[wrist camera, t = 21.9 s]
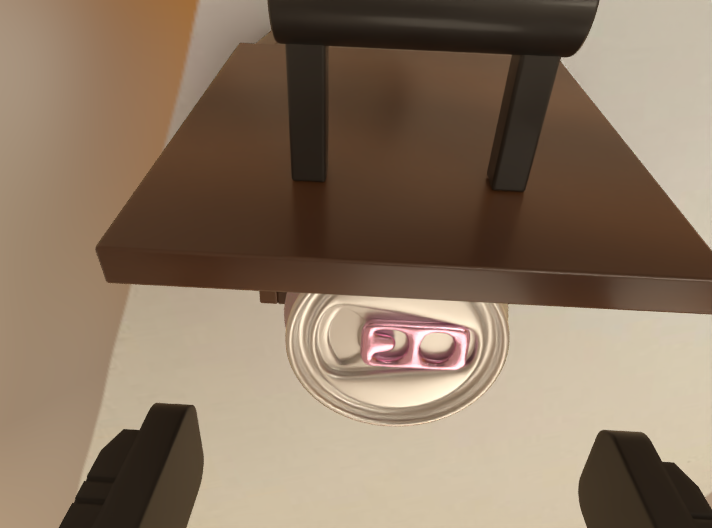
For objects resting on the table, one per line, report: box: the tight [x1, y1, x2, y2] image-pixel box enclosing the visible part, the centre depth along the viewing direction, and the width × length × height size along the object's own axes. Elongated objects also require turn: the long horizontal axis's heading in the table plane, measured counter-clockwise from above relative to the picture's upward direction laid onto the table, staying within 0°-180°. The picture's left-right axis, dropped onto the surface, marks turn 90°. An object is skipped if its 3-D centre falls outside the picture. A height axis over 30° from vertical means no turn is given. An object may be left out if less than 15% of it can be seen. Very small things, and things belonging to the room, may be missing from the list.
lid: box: [96, 0, 712, 314], centre depth 12 cm, size 11×11×5 cm
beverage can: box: [284, 292, 509, 426], centre depth 20 cm, size 6×6×15 cm
